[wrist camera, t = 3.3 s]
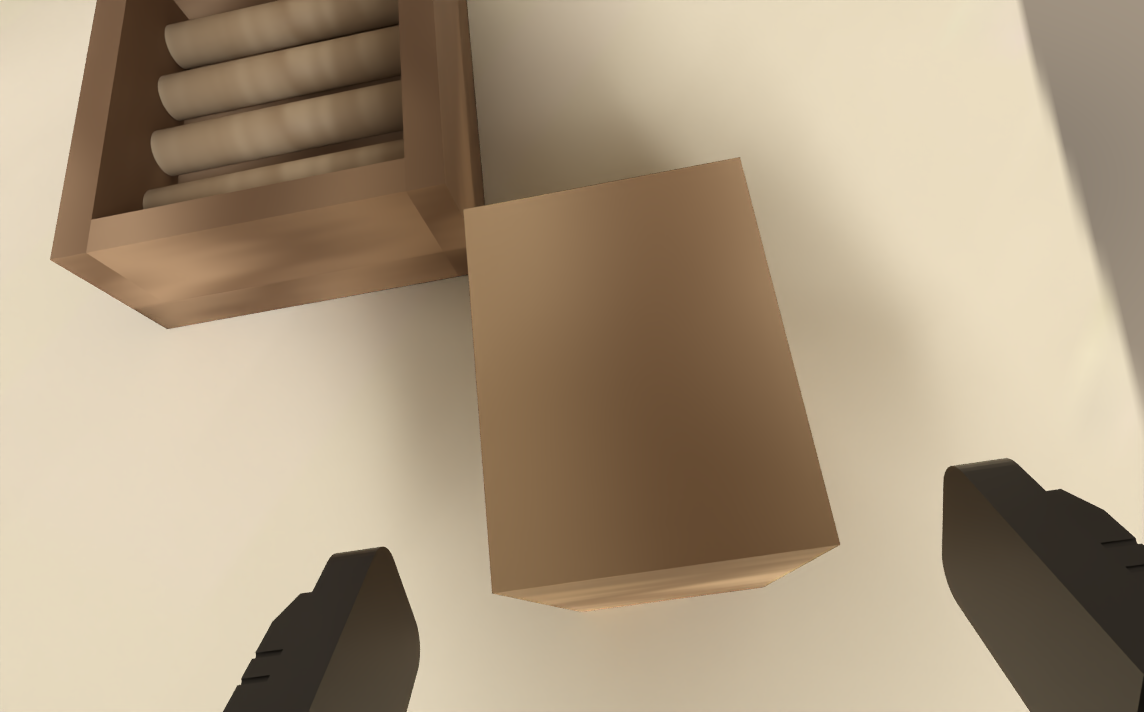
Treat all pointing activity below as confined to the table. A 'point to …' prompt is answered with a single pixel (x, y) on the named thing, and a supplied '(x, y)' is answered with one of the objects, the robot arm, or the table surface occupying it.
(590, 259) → the shelf block
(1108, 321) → the table surface
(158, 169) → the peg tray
